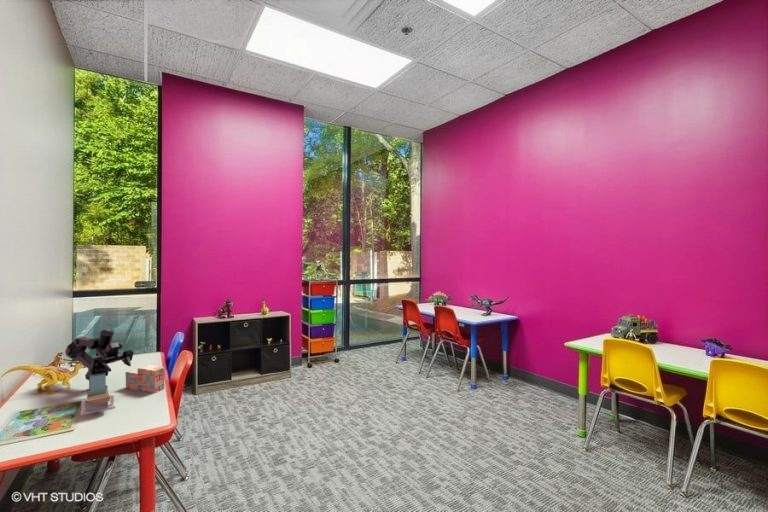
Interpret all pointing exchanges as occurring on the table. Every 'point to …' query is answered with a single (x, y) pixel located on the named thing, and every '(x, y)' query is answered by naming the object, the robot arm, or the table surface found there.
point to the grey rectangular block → (97, 384)
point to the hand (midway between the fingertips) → (120, 368)
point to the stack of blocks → (146, 378)
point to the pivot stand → (86, 411)
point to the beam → (97, 401)
